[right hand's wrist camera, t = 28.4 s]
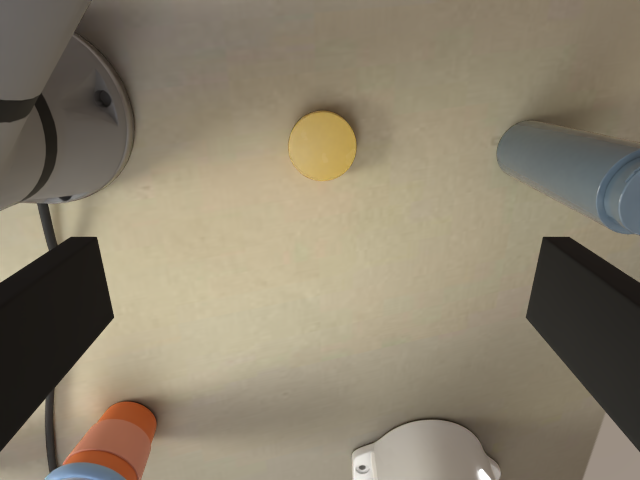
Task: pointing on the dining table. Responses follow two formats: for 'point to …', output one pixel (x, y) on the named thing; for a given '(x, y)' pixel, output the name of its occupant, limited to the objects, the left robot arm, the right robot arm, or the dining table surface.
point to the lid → (322, 145)
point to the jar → (577, 170)
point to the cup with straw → (112, 446)
